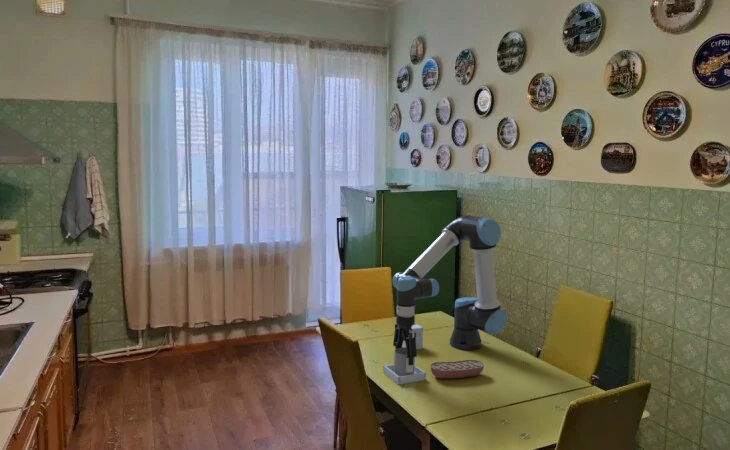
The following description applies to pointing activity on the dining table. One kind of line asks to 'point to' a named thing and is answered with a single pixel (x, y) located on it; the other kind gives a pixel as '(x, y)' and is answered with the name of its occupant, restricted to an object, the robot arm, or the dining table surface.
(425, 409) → the dining table surface
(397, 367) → the cup
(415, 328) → the small box
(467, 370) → the mitochondrion model
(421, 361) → the dining table surface
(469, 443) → the dining table surface
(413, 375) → the grey tray
